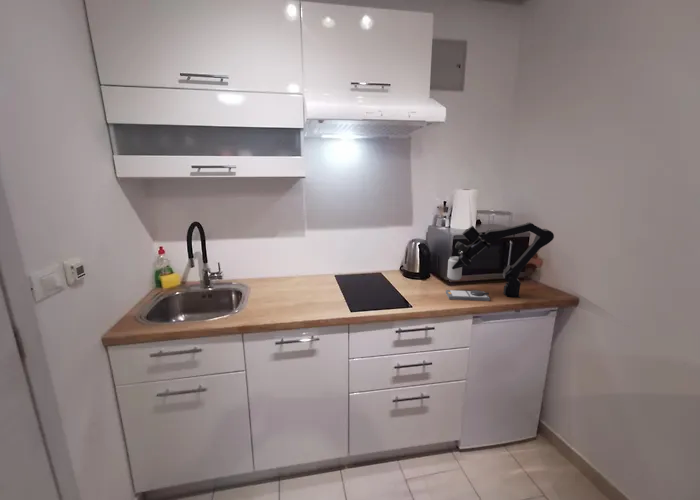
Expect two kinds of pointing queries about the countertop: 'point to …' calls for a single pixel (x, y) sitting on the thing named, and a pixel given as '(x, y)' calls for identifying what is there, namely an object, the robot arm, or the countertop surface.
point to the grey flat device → (467, 295)
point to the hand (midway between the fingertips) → (452, 266)
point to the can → (454, 273)
